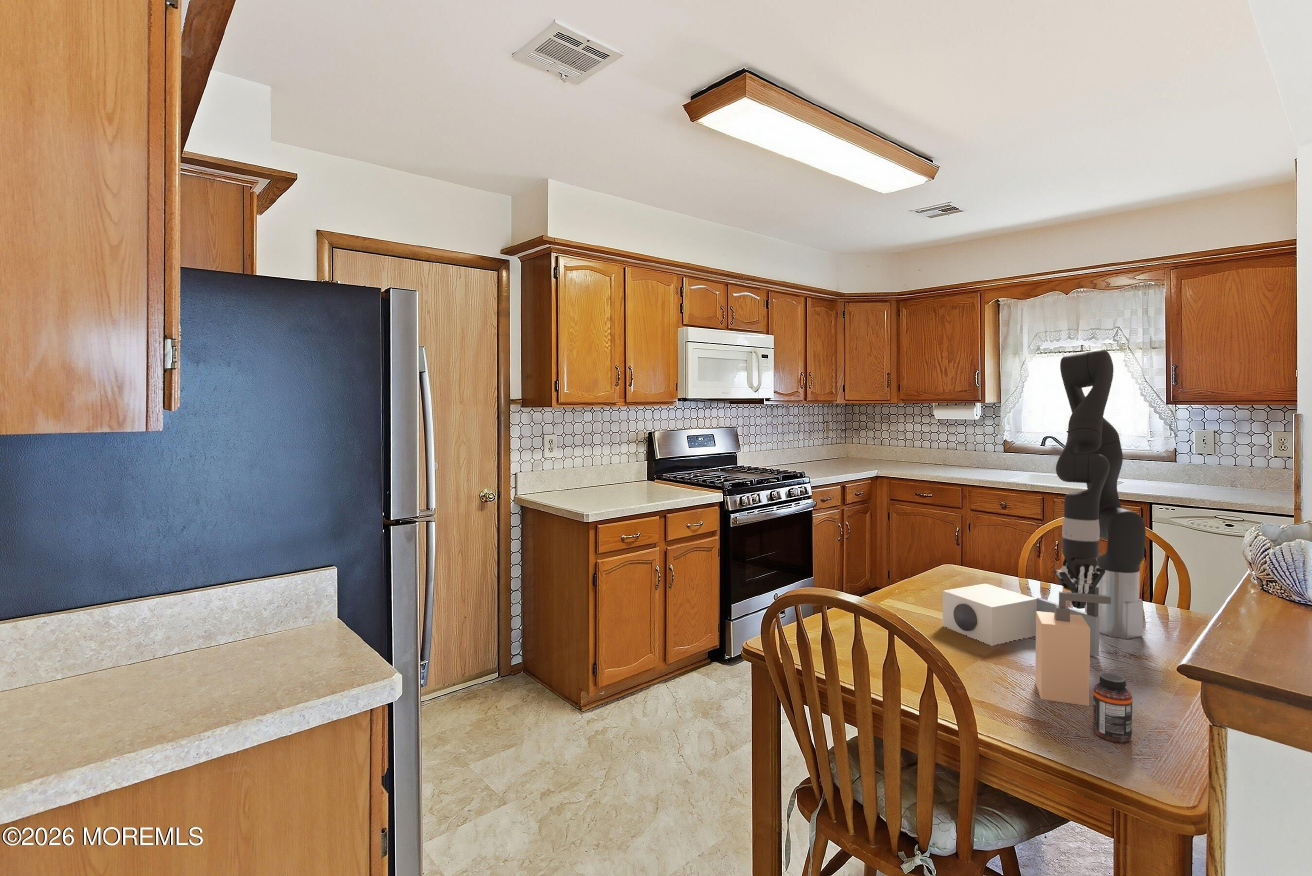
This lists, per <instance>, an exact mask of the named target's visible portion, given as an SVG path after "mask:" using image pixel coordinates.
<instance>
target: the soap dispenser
mask: <svg viewBox="0 0 1312 876" xmlns="http://www.w3.org/2000/svg"><path fill="white" fill-rule="evenodd" d="M1067 601H1069V602H1071V601H1078V602H1086V603H1087V602H1090V603H1101V604H1111V597H1110V596H1108V595H1095V594H1083V593H1072V592H1071V591H1069V592H1068V591H1058V604H1059V605H1055V606H1054V613H1051V612H1041V611H1036V636H1035V673H1034V674H1035V675H1034V676H1035V681H1034V682H1035V686H1036V690H1037V693H1038V694H1039V698H1040V700H1041V701H1042V700H1043V701H1048V702H1049V701H1050V702H1056V703H1057V702H1058V703H1063V704H1064V703H1065V704H1071V705H1078V706H1079V705H1080V706H1084V707H1085V706H1087V707H1089V706H1090V671H1091V670H1090V669H1091V666H1090V665H1091V663H1090V660H1091V655H1090V627H1089V626H1088V624H1087V623H1086V621H1085V620H1084V618H1083V617H1082V615H1072V614H1070V609H1069V606H1067Z"/></svg>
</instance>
